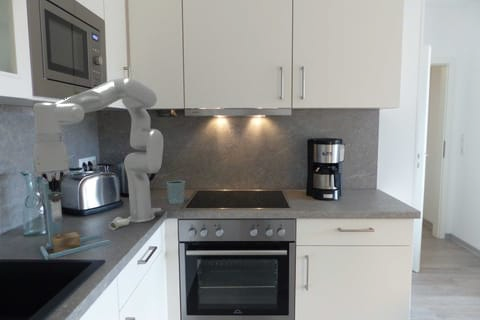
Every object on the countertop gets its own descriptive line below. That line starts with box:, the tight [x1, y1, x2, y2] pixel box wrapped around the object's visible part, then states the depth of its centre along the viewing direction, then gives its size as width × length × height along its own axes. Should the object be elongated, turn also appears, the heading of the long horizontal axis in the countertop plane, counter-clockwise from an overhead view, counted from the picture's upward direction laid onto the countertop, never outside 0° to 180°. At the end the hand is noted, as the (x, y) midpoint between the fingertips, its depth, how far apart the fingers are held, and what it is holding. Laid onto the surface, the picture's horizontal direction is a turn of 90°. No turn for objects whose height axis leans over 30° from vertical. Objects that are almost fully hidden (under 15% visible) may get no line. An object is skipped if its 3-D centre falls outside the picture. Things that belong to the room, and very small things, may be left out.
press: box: [40, 181, 110, 261], centre depth 117 cm, size 21×16×24 cm
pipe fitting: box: [108, 216, 131, 231], centre depth 139 cm, size 8×4×7 cm
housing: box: [51, 231, 82, 253], centre depth 115 cm, size 8×6×6 cm
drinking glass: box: [166, 179, 186, 205], centre depth 180 cm, size 10×10×12 cm
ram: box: [47, 192, 64, 222], centre depth 112 cm, size 5×5×10 cm
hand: (54, 191), depth 111 cm, fingers closed
